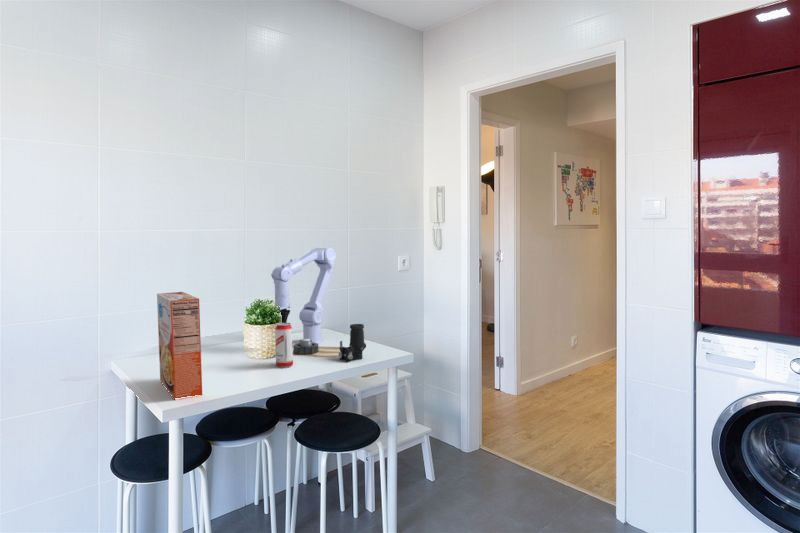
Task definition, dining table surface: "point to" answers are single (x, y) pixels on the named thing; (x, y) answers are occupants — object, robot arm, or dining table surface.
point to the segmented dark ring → (305, 349)
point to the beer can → (284, 345)
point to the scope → (353, 344)
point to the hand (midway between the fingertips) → (282, 327)
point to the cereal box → (179, 343)
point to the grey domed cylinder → (305, 342)
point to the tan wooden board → (324, 352)
